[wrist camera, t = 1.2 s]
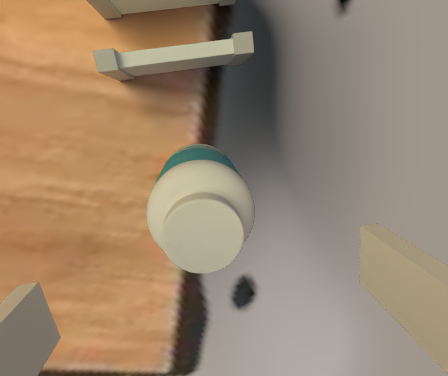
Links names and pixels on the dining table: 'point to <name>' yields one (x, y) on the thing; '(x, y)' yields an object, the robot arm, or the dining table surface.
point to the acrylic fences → (167, 56)
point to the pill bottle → (200, 209)
